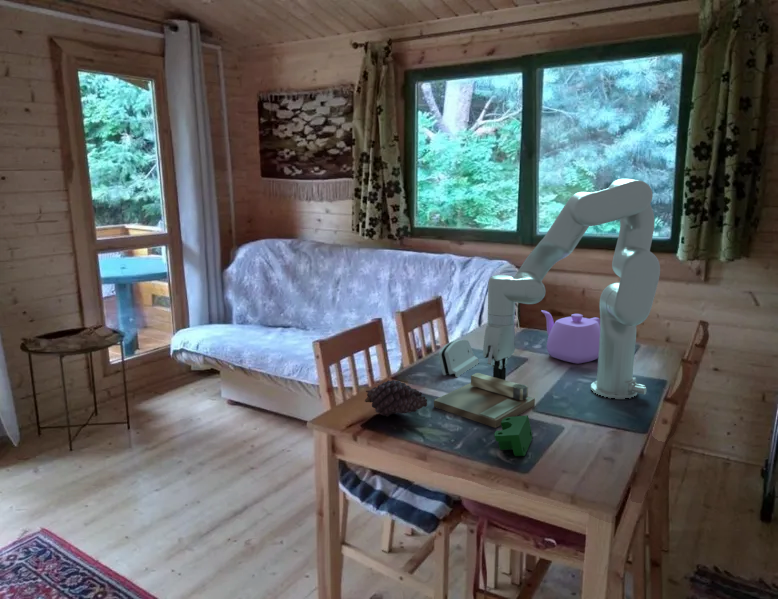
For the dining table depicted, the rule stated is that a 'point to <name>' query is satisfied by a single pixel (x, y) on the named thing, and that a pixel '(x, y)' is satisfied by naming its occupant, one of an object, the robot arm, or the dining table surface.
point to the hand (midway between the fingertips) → (499, 379)
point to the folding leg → (499, 386)
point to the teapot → (573, 338)
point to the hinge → (457, 357)
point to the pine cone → (395, 398)
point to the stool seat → (482, 405)
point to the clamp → (514, 434)
